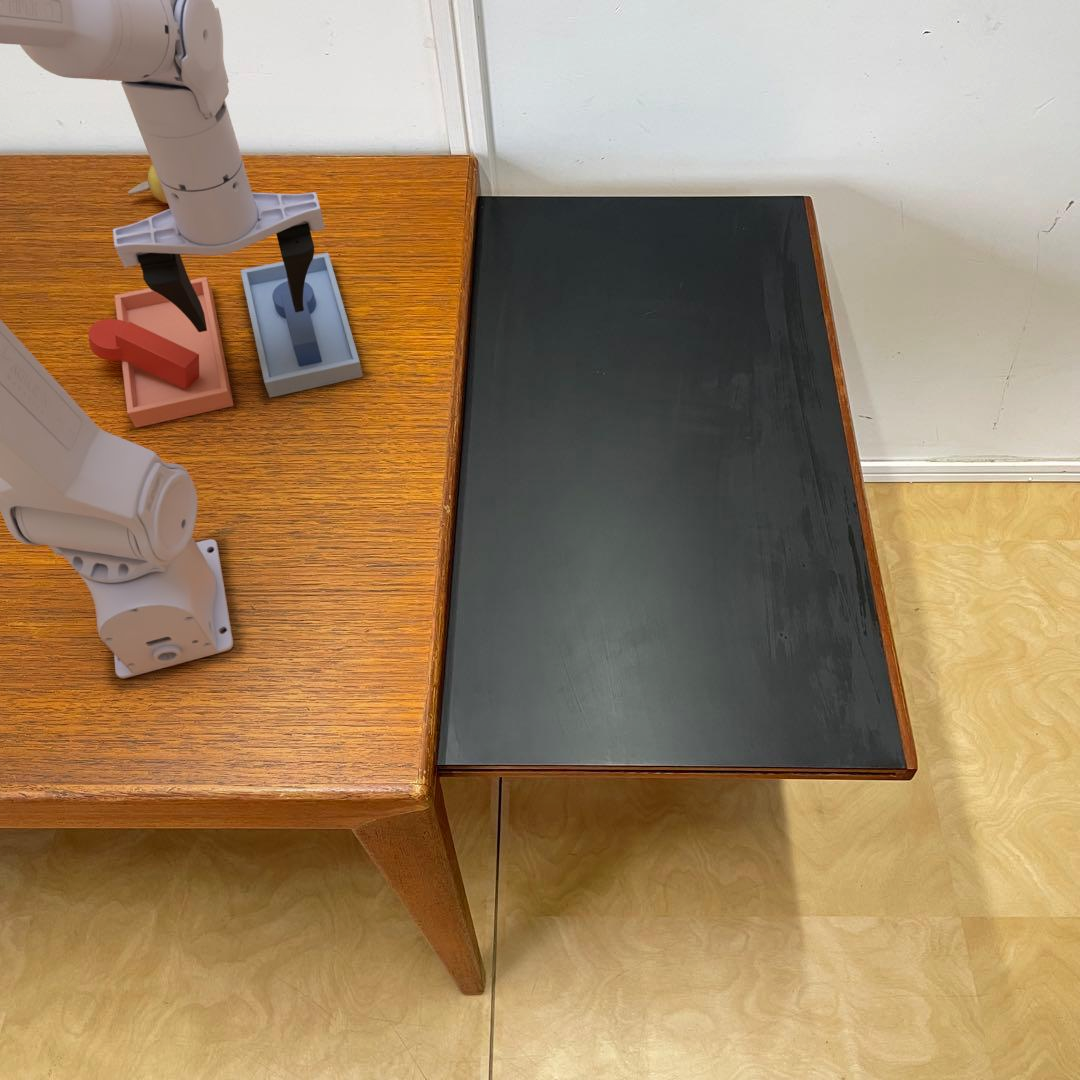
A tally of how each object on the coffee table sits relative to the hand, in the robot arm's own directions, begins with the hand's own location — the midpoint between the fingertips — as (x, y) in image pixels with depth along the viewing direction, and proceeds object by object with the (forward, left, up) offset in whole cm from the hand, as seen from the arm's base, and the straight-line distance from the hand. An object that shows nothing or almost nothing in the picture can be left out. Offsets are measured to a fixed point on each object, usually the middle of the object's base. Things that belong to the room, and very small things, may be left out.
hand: (249, 313), depth 74 cm
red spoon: (+2, +10, -5) cm, 11 cm away
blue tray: (+4, -4, -6) cm, 8 cm away
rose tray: (+4, +7, -6) cm, 10 cm away
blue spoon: (+4, -4, -6) cm, 8 cm away
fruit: (+25, +4, -7) cm, 26 cm away
